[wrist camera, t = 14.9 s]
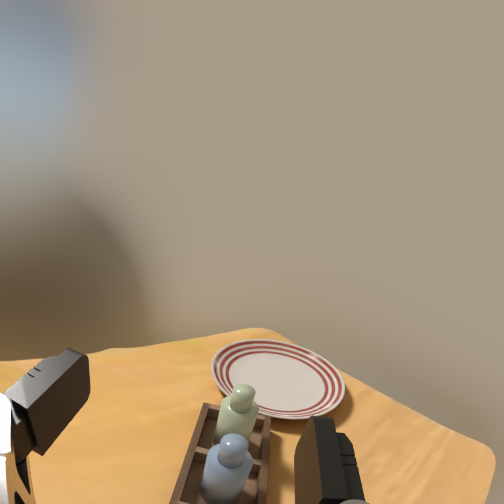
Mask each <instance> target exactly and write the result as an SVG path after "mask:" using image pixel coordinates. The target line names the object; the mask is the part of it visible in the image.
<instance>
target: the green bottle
mask: <svg viewBox="0 0 504 504" xmlns="http://www.w3.org/2000/svg"><path fill="white" fill-rule="evenodd" d="M255 393H256V391H255V389H254V388H253V387H252V386H250V385H247V384H236V385H235V386H234V387H233V391H232V395H230V396H227V397H225V398H224V399H223V400H222V402H221V407H220V411H219V416H218V420H217V425H216V429H215V434H214V439H213V443H214V446H215V445H217V444H220V442H221V439H222V437H223V436H225V435H227V434H239V435H241V436H243V437H245V438H246V439H247V441H248V443H249V440H250V437H251V434H252V431H253V428H254V424H255V421H256V418H257V415H258V412H259V407H258V405H257V404H256V402H255V401H253V400H254V397H255Z"/></svg>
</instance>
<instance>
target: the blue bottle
mask: <svg viewBox="0 0 504 504" xmlns="http://www.w3.org/2000/svg"><path fill="white" fill-rule="evenodd" d="M248 447H249V443H248V441H247V439H246V438H245V437H243V436H241V435H239V434H227V435H225V436H223V437H222V439H221V442H220V444H217V445H215V446H213V447H212V448H211V449H210V450H209V451H208V454H207V458H206V463H205V468H204V472H203V477H202V482H201V486H200V495H201V497H202V499H203V500H204V501H205V502H206V503H208V504H236V503H237V502H238V500H239V498H240V496H241V493H242V491H243V488H244V486H245V483H246V481H247V478H248V476H249V473H250V471H251V468H252V466H253V459H252V456H251V454H250V453H249V452H248V451H247V450H248Z"/></svg>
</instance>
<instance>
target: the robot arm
mask: <svg viewBox="0 0 504 504" xmlns="http://www.w3.org/2000/svg"><path fill="white" fill-rule="evenodd" d="M89 394H90V375H89V360H88V357H87V355H85V354H82V353H80V352H77V351H75V350H72V349H70V348H68V349H66V350H65V351H64V352H62V353H61V354H60V355H59V356H58V357H56V356H52V357H49V358H46V359H43V360H42V361H40V362H39V363H38V364H37V365H36V366H34V368H32V369H31V370H30V371H28V372H27V374H25V375H24V376H22V377H21V378H20V379H19V380H18V381H17V382H15V383H14V384H13V385H12V386H11V387H10V388H8V389H7V390H6V391H5V392H4V393H3V394H0V504H36V502H35V497H34V492H33V485H32V478H31V471H30V462H29V457H28V454H29V453H30V452H31V451H32V450H33V451H35V452H36V453H38V454H40V455H41V456H43V455H44V454H45V452H46V451H47V450H48V449H49V447H50V446H51V445H52V444H53V442H54V441H55V440H56V439H57V437H58V436H59V435H60V434H61V432H62V431H63V430H64V429H65V427H66V426H67V425H68V424H69V422H70V421H71V420H72V419H73V418H74V416H75V415H76V414H77V413H78V411H79V410H80V409H81V408H82V407H83V405H84V404H85V403H86V401H87V400H88V397H89ZM294 472H295V504H369V503H367V502H366V501H365V498H364V493H363V489H362V484H361V480H360V475H359V471H358V466H357V462H356V457H355V453H354V449H353V445H352V443H351V441H350V440H349V439H348V437H347V436H346V435H345V433H336V429H335V424H334V420H333V418H329V417H321V416H313V415H312V416H310V418H309V419H308V422H307V424H306V426H305V428H304V431H303V433H302V435H301V437H300V439H299V442H298V444H297V446H296V450H295V456H294Z"/></svg>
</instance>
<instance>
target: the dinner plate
mask: <svg viewBox="0 0 504 504" xmlns="http://www.w3.org/2000/svg"><path fill="white" fill-rule="evenodd" d="M211 373H212V376H213V379H214V381H215V383H216V384H217V386H218V387H219V388H220V390H221V391H222V392H223V393H224V394H225V395H226V396H230V395H232V391H233V387H234V386H235V385H236V384H247V385H250V386H252V387H253V388H254V389H255V391H256V393H255V397H254V400H253V401H255V402H256V404H257V405H258V407H259V412H258V413H259V414H262V415H265V416H269V417H274V418H280V419H308V418H310V416H312V415H313V416H321V415H323V414H326V413H328V412H330V411H332V410H333V409H334V408H336V407H337V406H338V405H339V403H340V402H341V401H342V399H343V397H344V393H345V384H344V380H343V378H342V376H341V374H340V373H339V371H338V370H337V369H336V368H335V367H334V366H333V365H332V364H331V363H330V362H328V361H327V360H326V359H324V358H323V357H321V356H320V355H318V354H316V353H314V352H312V351H310V350H308V349H305V348H303V347H300V346H297V345H294V344H291V343H287V342H282V341H277V340H268V339H249V340H242V341H237V342H234V343H231V344H228V345H226V346H224V347H223V348H221V349H220V350H219V351H218V352H217V353H216V354H215V355H214V357H213V359H212V362H211Z"/></svg>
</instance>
